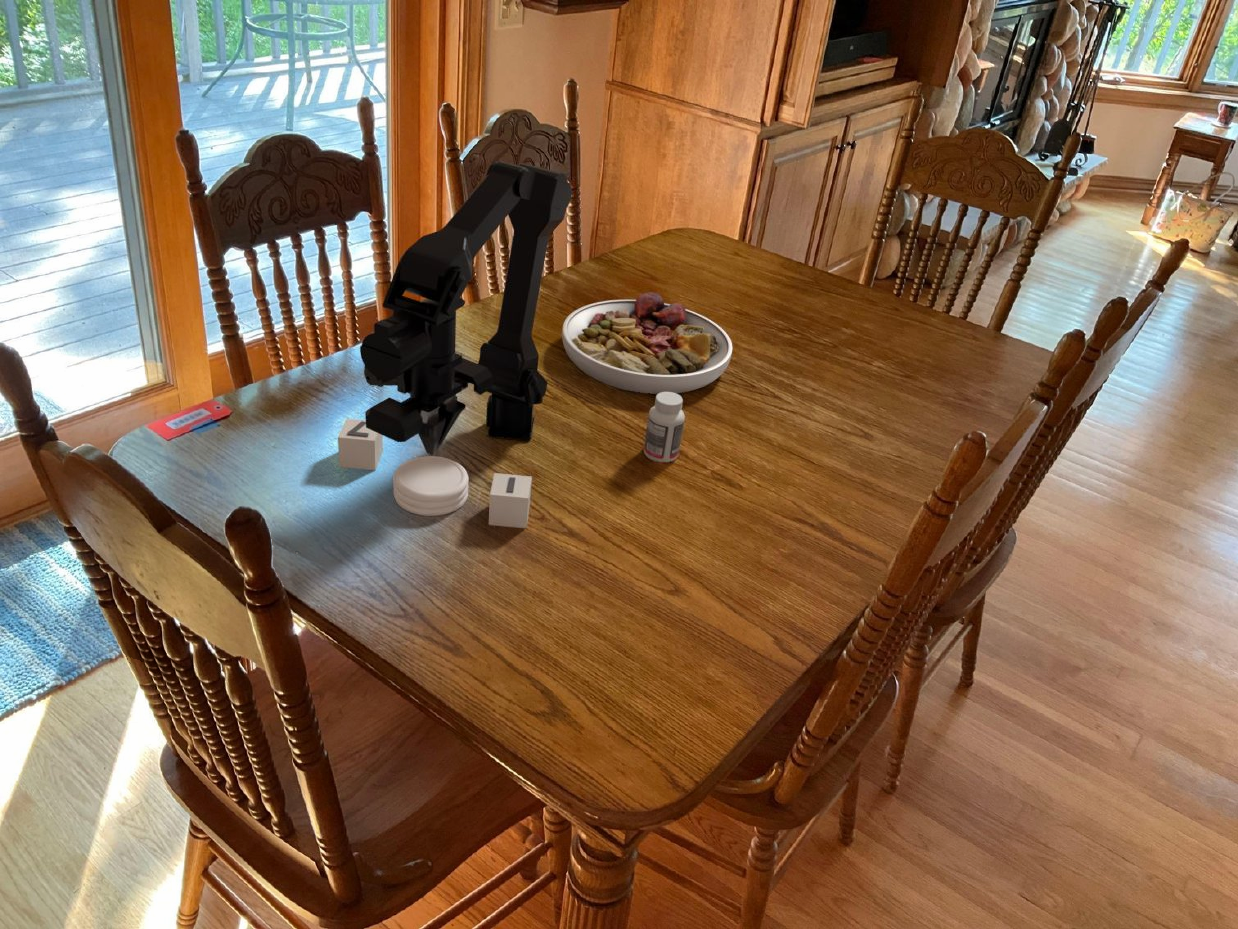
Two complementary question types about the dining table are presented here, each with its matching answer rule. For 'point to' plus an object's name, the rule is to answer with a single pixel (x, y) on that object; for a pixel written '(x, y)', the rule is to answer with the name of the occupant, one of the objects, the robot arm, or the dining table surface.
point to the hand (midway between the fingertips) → (431, 453)
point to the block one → (510, 500)
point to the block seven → (359, 446)
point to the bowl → (646, 345)
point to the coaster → (430, 486)
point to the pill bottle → (664, 428)
